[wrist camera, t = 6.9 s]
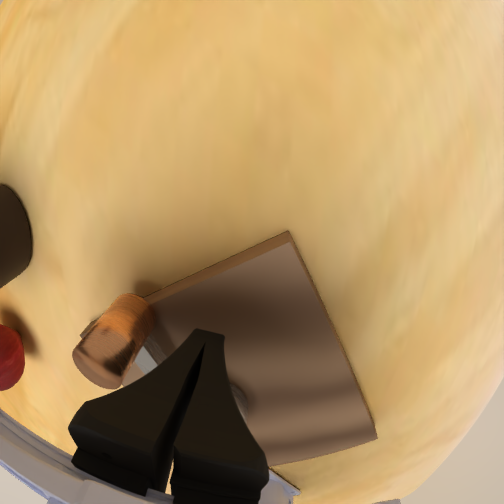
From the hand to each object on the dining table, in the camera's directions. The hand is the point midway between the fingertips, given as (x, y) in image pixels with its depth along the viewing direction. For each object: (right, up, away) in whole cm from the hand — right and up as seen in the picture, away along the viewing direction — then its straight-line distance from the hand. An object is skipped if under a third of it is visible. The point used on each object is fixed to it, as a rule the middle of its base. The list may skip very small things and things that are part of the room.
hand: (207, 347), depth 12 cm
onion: (-19, -3, +6) cm, 20 cm away
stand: (+2, -5, +5) cm, 7 cm away
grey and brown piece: (-2, -3, +2) cm, 4 cm away
